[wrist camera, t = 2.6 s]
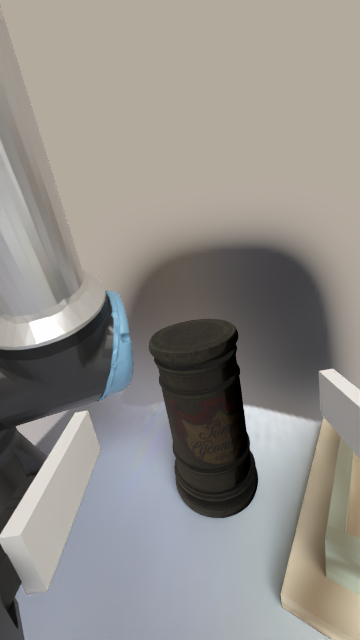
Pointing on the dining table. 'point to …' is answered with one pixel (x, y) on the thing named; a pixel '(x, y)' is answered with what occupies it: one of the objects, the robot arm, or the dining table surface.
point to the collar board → (328, 543)
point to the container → (206, 415)
